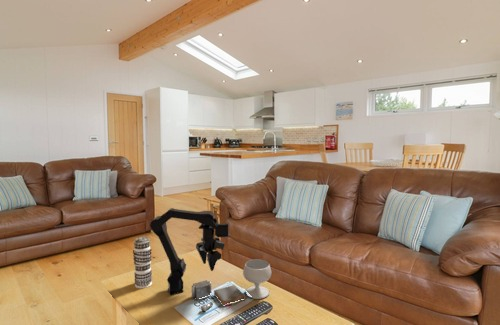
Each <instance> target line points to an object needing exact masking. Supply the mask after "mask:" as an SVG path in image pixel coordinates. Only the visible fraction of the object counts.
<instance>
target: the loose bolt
mask: <svg viewBox="0 0 500 325" xmlns="http://www.w3.org/2000/svg"><path fill="white" fill-rule="evenodd" d="M213 304H214V303H213V302H212V301H210V302H209V303H207V304H206V305H205V304H203V305H202V306H201V307H200V310H201V311H202V312H203V311H205V312H206V311H207V310H208V309H210V308H211V307H212V306H213ZM211 305H212V306H211ZM210 306H211V307H210ZM209 307H210V308H209Z"/></svg>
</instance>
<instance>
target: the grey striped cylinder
mask: <svg viewBox="0 0 500 325" xmlns="http://www.w3.org/2000/svg"><path fill="white" fill-rule="evenodd" d="M150 241H151V239H150V238H149V237H148V236H138V237H137V238H136V239H135V240H134V241H133V244H134V247H133V248H134V249H133V251H132V254H133V255H132V256H133V264H134V267H135V269H134V285H135V286H134V287H135V288H137V289H144V288H147V287H150V286H151V285H152V284H153V280H152V278H153V276H152V267H151V263H152V248H151V244H150V243H151V242H150Z"/></svg>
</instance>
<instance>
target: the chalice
mask: <svg viewBox="0 0 500 325" xmlns="http://www.w3.org/2000/svg"><path fill="white" fill-rule="evenodd" d="M242 272H243V273H242V276H243V277H244V279H245V280H246V281H248V282H249V283H252V284H254V285H252V286H249V287H247V288H246V289H245V291H247V292H248V293H249V294H250V295H251V296H252V298H251V299H254V300H261V299H265V298H267V297H268V296H269V295H270V291H269V289H268V288H267V287H264V286H261V284H263V283H265V282H267V281H269V279H270V278H271V277H272V269H271V264H270V262H268V261H267V260H264V259H261V258H259V259H258V258H255V259H254V258H253V259H250V260H247V261H246V262H245V264H244V265H243V271H242Z"/></svg>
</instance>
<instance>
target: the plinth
mask: <svg viewBox="0 0 500 325" xmlns="http://www.w3.org/2000/svg"><path fill="white" fill-rule="evenodd" d="M213 293H214V294H215V295H216V296H217V297H218V299H219V300H220V301H221V303H222V304H223V305H225V304H227V303H230V302H235V301H238V300H241V299H244V298H245V295H246V294H244V293H243V292H242V291H241V290H240V289H239V288H238V287H237V286H236V285H235V284H233V285H229V286H225V287H222V288H218V289H215V290H214V291H213ZM214 294H213V295H214ZM218 299H217V300H218ZM245 299H246V298H245ZM221 303H220V304H221ZM222 304H221V305H222Z"/></svg>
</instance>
